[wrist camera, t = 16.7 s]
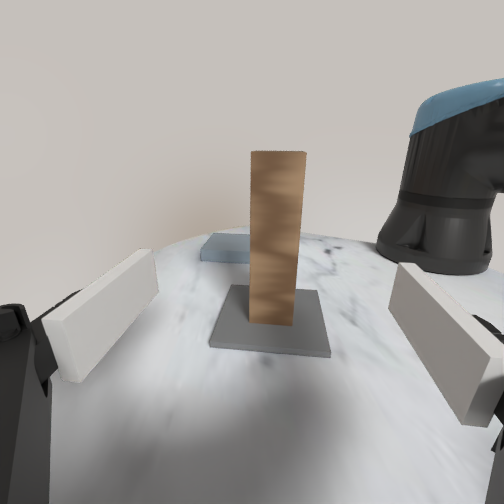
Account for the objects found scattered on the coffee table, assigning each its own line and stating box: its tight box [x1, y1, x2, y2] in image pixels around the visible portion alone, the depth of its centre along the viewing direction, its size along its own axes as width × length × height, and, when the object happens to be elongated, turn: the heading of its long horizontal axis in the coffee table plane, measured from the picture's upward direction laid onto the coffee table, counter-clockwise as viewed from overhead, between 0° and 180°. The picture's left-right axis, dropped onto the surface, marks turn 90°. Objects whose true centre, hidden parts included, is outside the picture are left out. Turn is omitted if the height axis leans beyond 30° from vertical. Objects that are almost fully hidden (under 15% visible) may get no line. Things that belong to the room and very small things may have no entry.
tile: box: [200, 233, 250, 264], centre depth 43 cm, size 10×2×8 cm
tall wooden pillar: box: [249, 151, 307, 326], centre depth 24 cm, size 4×4×15 cm
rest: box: [210, 285, 331, 358], centre depth 27 cm, size 10×10×1 cm
